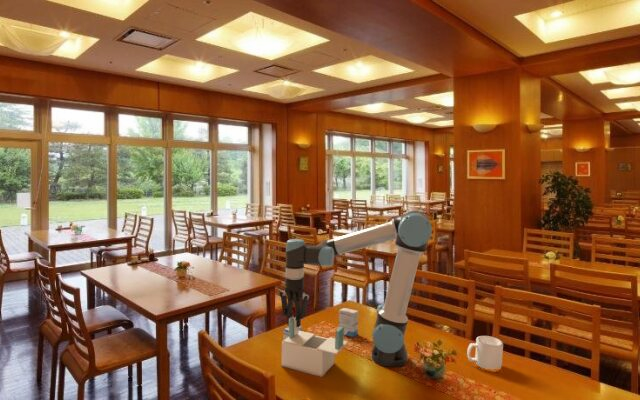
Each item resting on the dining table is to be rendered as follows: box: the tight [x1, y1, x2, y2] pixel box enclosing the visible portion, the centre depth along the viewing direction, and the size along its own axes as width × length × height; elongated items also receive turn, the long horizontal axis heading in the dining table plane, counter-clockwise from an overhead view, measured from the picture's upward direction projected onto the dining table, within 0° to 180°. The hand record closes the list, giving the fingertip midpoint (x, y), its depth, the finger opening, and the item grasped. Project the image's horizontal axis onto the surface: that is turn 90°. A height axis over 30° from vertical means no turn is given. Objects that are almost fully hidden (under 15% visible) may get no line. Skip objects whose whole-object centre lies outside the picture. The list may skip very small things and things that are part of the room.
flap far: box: [282, 316, 316, 346], centre depth 162 cm, size 8×12×8 cm
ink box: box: [338, 307, 359, 338], centre depth 193 cm, size 9×5×12 cm, turn 58°
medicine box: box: [282, 325, 303, 342], centre depth 177 cm, size 8×4×9 cm, turn 141°
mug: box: [466, 335, 504, 370], centre depth 163 cm, size 14×10×11 cm
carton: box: [280, 335, 336, 378], centre depth 161 cm, size 18×12×10 cm, turn 65°
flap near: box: [317, 326, 349, 356], centre depth 155 cm, size 8×12×8 cm
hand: (293, 333), depth 163 cm, fingers open, 2 cm apart
